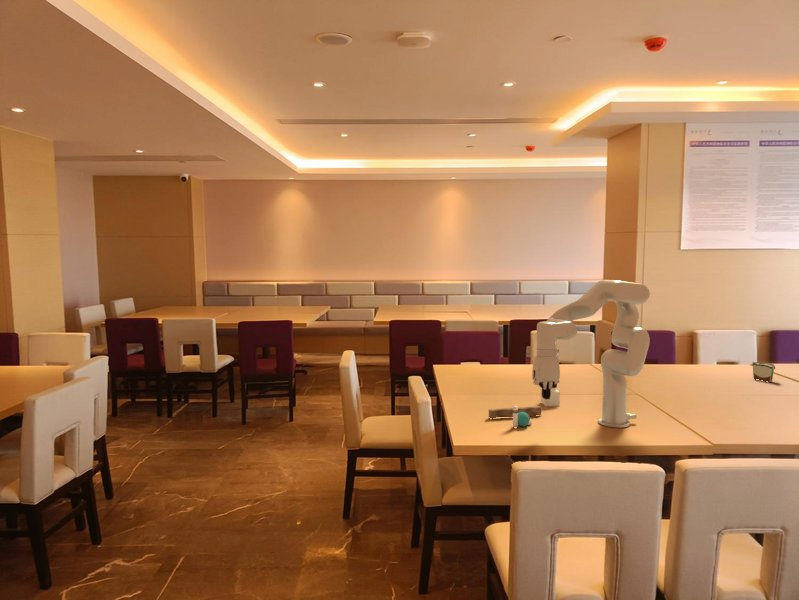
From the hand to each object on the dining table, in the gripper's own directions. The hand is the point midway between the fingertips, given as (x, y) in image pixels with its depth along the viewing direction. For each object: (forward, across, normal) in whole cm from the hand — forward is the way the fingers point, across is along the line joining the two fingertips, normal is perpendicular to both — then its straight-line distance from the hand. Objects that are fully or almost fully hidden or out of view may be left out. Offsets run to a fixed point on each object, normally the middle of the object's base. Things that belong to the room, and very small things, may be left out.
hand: (546, 398), depth 217 cm
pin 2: (+14, +1, -12) cm, 19 cm away
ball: (+12, +5, -12) cm, 18 cm away
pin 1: (+15, +8, -11) cm, 20 cm away
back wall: (+15, +2, -25) cm, 29 cm away
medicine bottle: (+15, -23, -41) cm, 49 cm away
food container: (+16, -164, -59) cm, 175 cm away
